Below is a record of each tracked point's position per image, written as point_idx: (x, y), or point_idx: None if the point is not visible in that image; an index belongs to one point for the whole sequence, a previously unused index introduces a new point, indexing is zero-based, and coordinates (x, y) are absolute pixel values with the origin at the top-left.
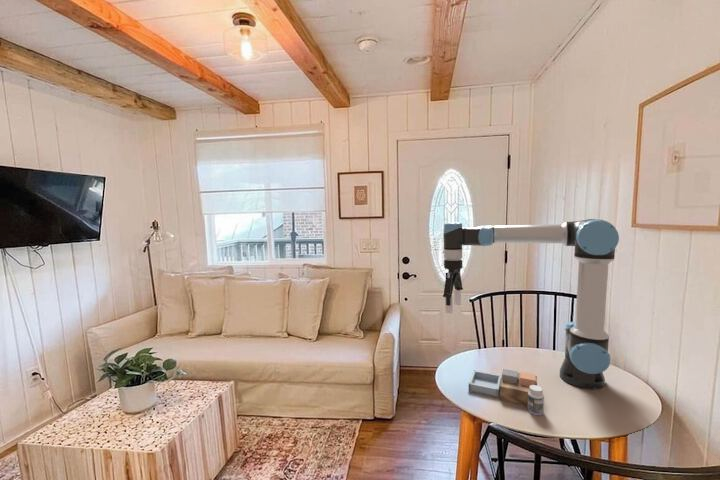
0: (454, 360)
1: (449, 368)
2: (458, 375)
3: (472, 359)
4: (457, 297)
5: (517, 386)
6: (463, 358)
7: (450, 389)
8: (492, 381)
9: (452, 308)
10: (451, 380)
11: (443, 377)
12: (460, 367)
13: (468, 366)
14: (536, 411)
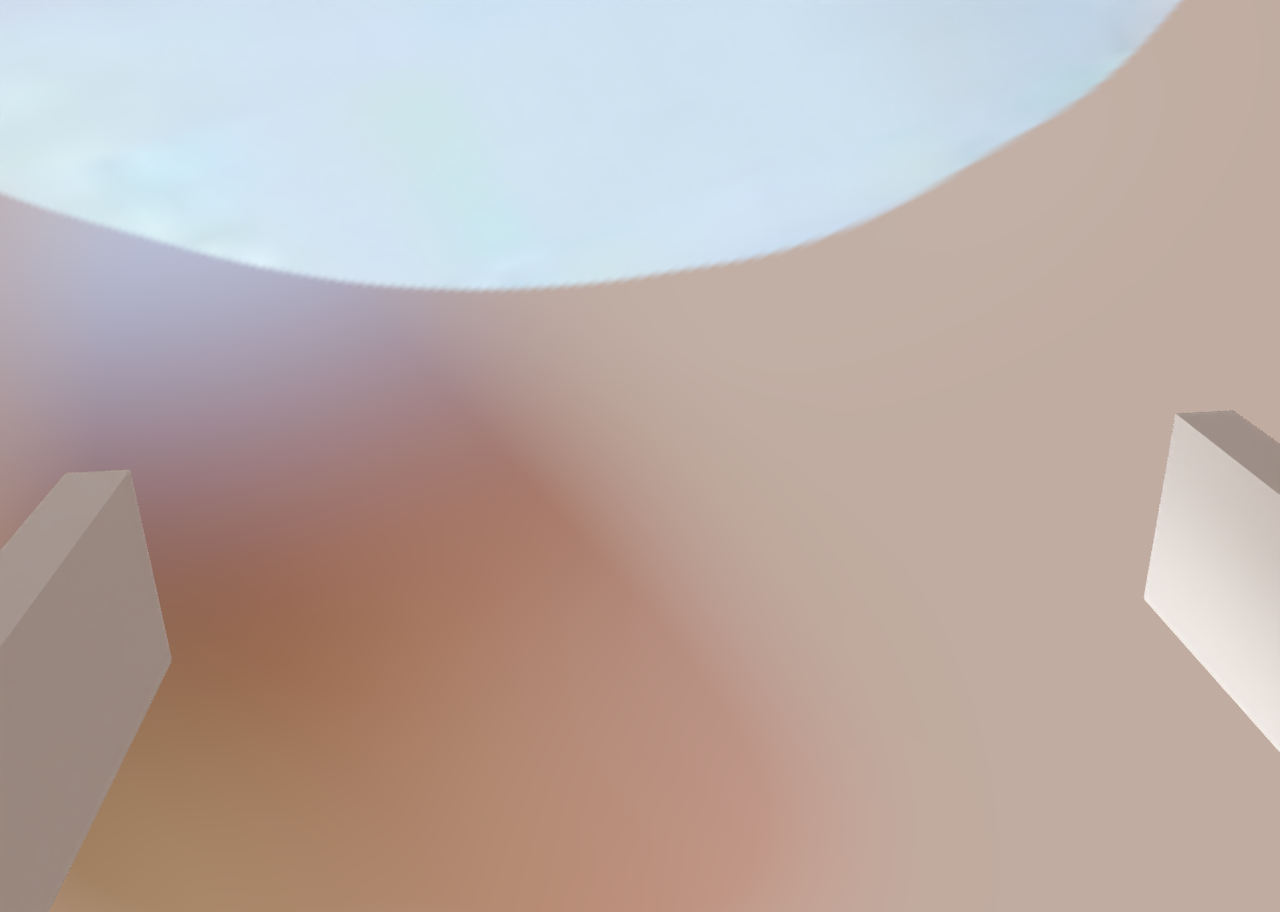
0: (287, 239)
1: (551, 222)
2: (680, 63)
3: (95, 24)
4: (51, 731)
5: None
6: (147, 150)
7: (1057, 45)
8: None
9: (1257, 476)
10: (845, 101)
11: (814, 209)
12: (447, 106)
13: (356, 15)
14: None
